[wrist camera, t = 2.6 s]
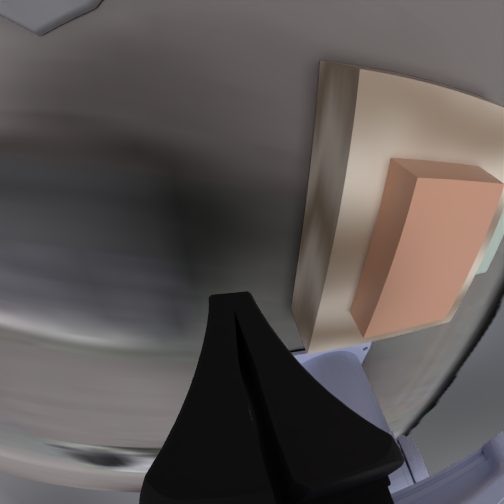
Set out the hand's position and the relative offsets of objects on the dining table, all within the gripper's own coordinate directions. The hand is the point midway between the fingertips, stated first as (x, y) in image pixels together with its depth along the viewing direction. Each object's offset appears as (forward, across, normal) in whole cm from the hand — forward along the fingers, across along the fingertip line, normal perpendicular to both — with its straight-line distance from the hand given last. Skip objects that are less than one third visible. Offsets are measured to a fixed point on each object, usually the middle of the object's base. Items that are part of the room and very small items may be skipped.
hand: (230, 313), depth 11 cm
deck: (+7, -11, 0) cm, 13 cm away
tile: (+3, -10, 0) cm, 10 cm away
